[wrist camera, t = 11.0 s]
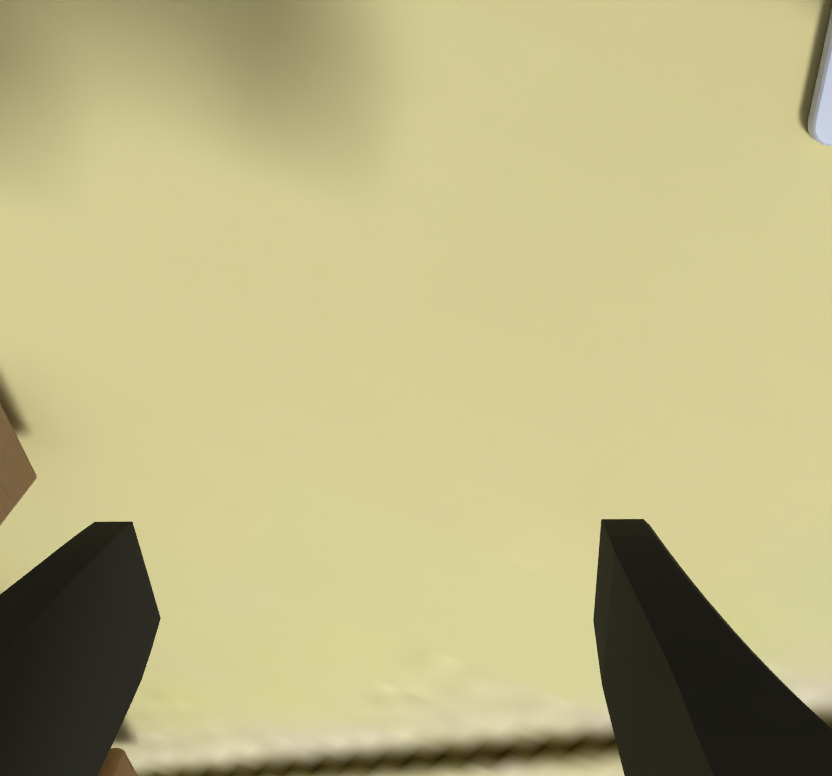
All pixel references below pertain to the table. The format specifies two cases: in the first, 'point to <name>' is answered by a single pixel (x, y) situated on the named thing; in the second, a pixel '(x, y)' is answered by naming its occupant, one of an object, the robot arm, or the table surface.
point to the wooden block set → (3, 488)
